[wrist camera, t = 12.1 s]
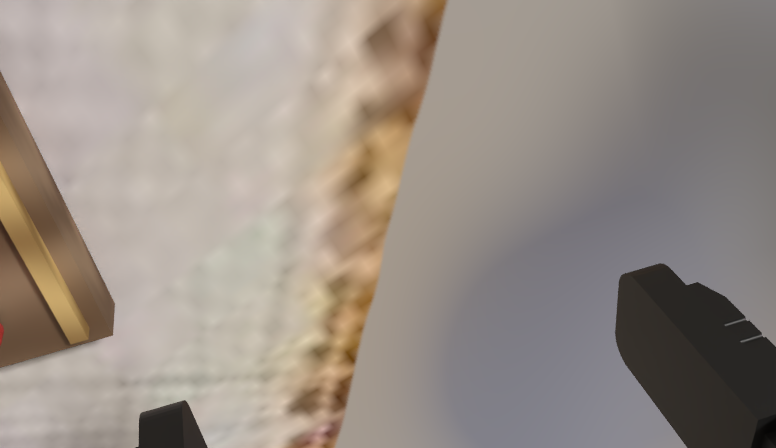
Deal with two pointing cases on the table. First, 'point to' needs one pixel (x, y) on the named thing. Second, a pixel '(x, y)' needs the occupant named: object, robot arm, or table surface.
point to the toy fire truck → (1, 333)
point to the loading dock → (41, 255)
